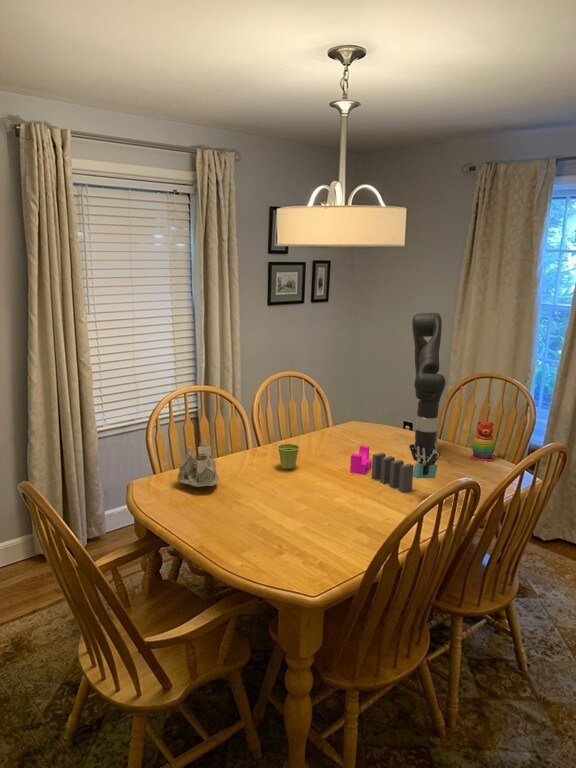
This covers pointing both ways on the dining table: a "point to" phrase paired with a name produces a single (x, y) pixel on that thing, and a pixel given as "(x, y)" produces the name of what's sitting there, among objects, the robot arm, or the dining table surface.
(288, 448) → the plant pot
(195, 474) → the ceramic cottage
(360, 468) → the toy block
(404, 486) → the domino
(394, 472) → the domino
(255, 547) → the dining table surface
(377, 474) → the domino
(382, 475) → the domino
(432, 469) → the domino
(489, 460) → the stacking bear
